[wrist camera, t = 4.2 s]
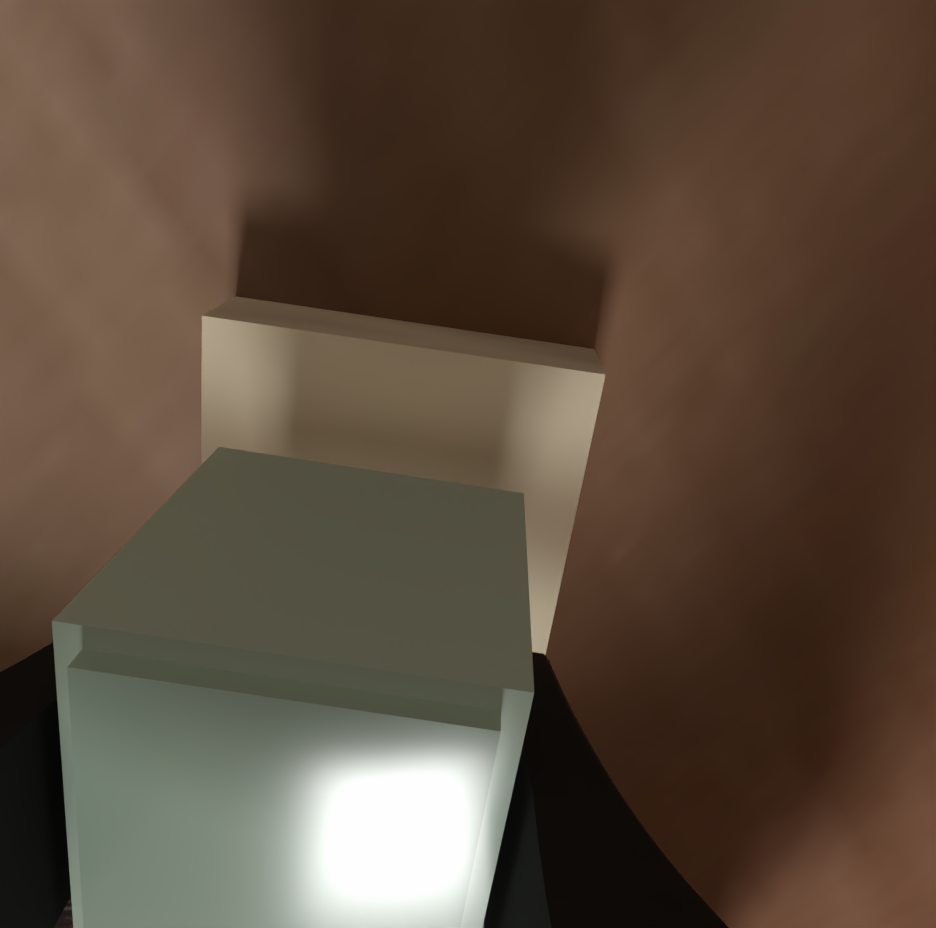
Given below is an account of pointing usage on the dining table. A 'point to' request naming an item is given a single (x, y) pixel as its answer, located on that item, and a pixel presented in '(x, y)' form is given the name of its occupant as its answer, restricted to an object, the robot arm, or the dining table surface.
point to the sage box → (297, 702)
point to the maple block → (410, 410)
